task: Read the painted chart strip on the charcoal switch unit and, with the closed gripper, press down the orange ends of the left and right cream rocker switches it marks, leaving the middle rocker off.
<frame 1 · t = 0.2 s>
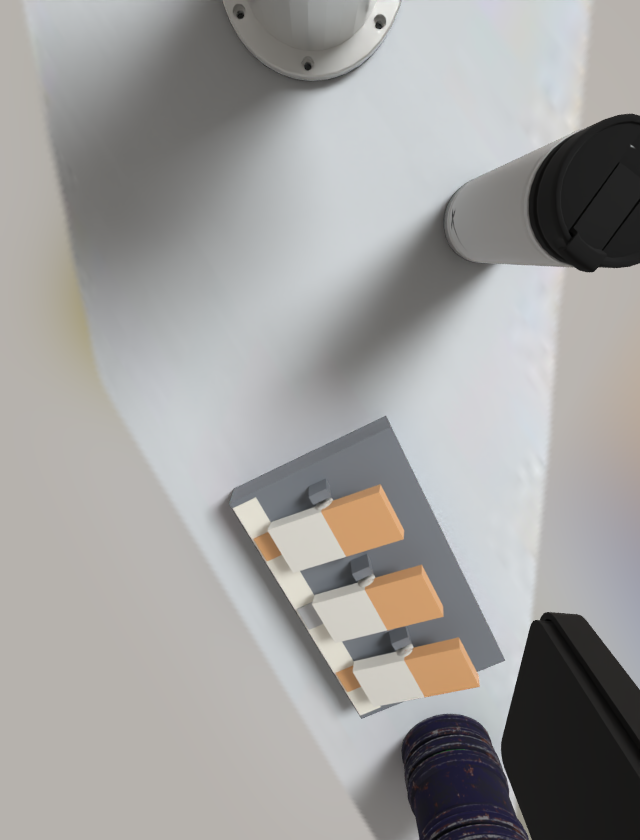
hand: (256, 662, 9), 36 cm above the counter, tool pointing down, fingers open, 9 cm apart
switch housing: (371, 567, 50), on the counter
switch 3: (414, 669, 47), point 5 cm above the counter, hinge at 13.0°
switch 2: (377, 602, 45), point 5 cm above the counter, hinge at 13.0°
switch 1: (335, 527, 43), point 5 cm above the counter, hinge at 13.0°
travel mug: (481, 222, 41), on the counter
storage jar: (445, 747, 57), on the counter
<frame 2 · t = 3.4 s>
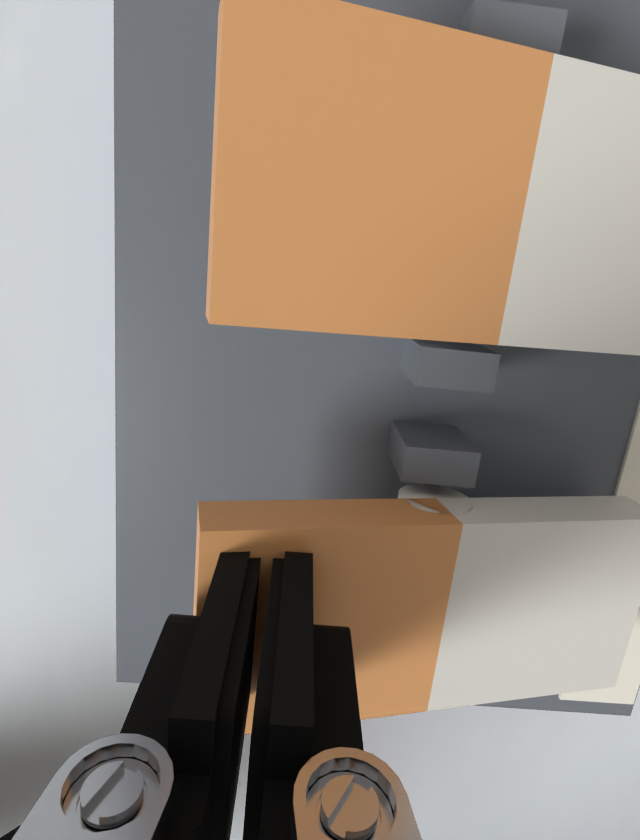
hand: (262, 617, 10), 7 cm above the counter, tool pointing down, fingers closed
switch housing: (427, 232, 15), on the counter
switch 2: (491, 213, 10), point 5 cm above the counter, hinge at 13.0°
switch 1: (423, 594, 12), point 5 cm above the counter, hinge at 13.0°, touching gripper
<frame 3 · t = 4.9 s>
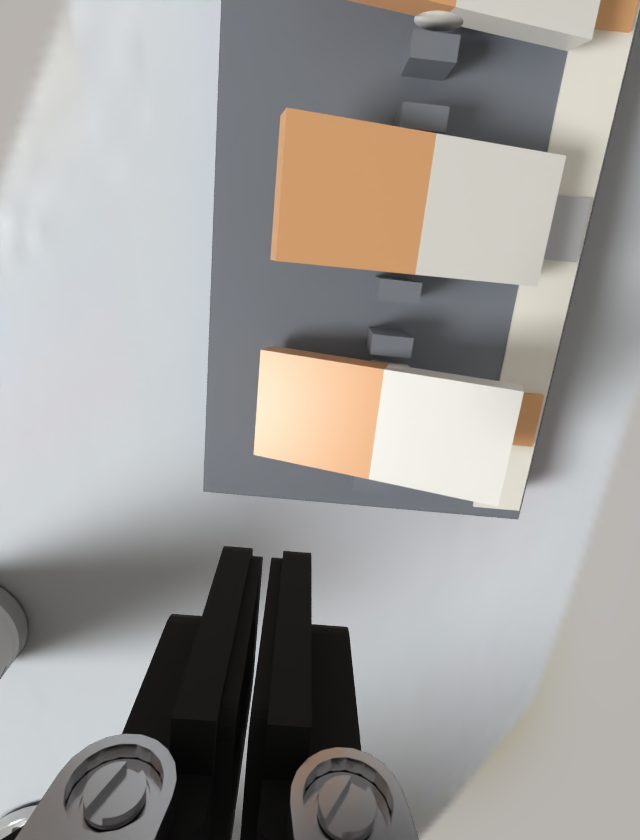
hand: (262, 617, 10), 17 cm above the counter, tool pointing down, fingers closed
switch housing: (392, 216, 24), on the counter
switch 2: (413, 208, 19), point 5 cm above the counter, hinge at 13.0°
switch 1: (380, 419, 21), point 5 cm above the counter, hinge at -17.2°
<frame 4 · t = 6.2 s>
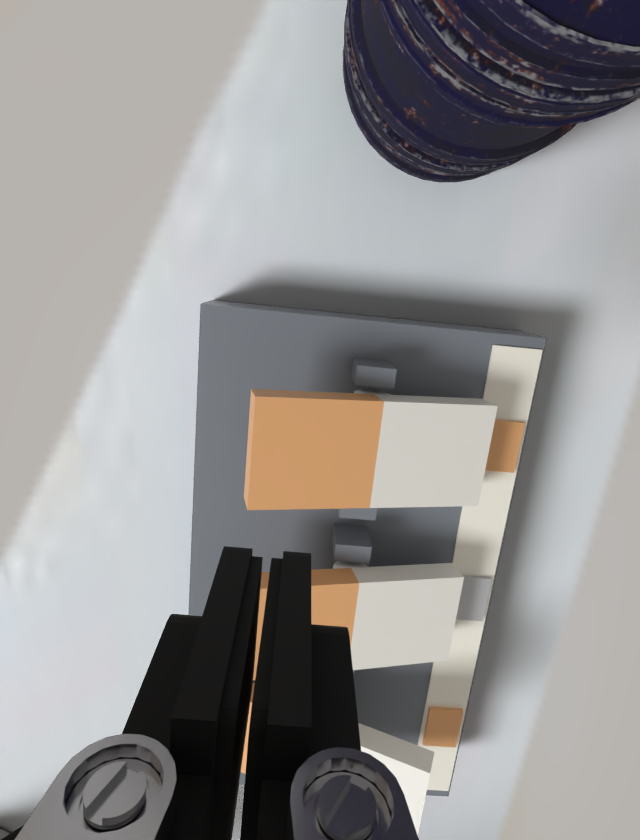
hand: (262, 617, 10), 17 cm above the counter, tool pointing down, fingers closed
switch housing: (339, 554, 29), on the counter
switch 3: (368, 447, 22), point 5 cm above the counter, hinge at 13.0°
switch 2: (346, 613, 24), point 5 cm above the counter, hinge at 13.0°
switch 1: (325, 752, 26), point 5 cm above the counter, hinge at -22.0°
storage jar: (452, 63, 23), on the counter
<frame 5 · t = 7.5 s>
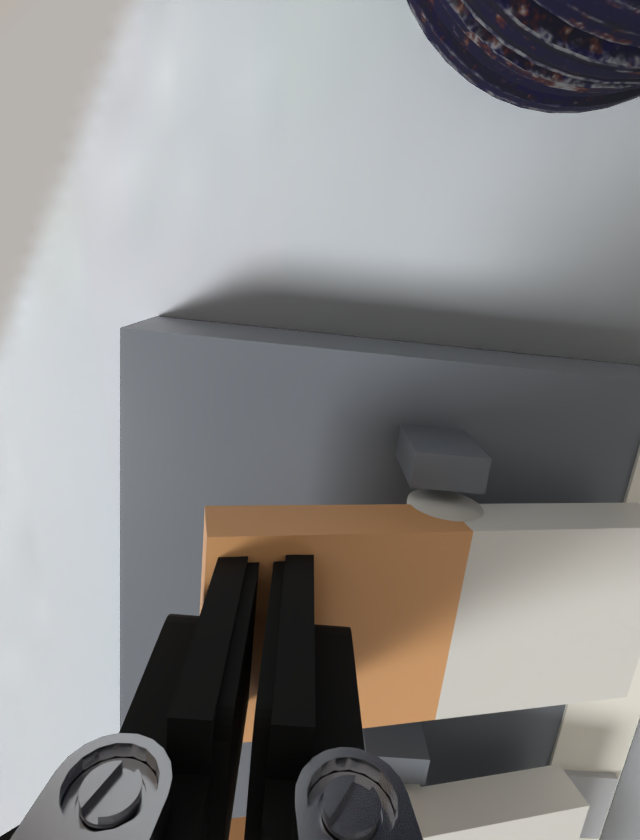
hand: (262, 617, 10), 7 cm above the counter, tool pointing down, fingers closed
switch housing: (362, 706, 19), on the counter
switch 3: (432, 601, 12), point 5 cm above the counter, hinge at 12.2°, touching gripper
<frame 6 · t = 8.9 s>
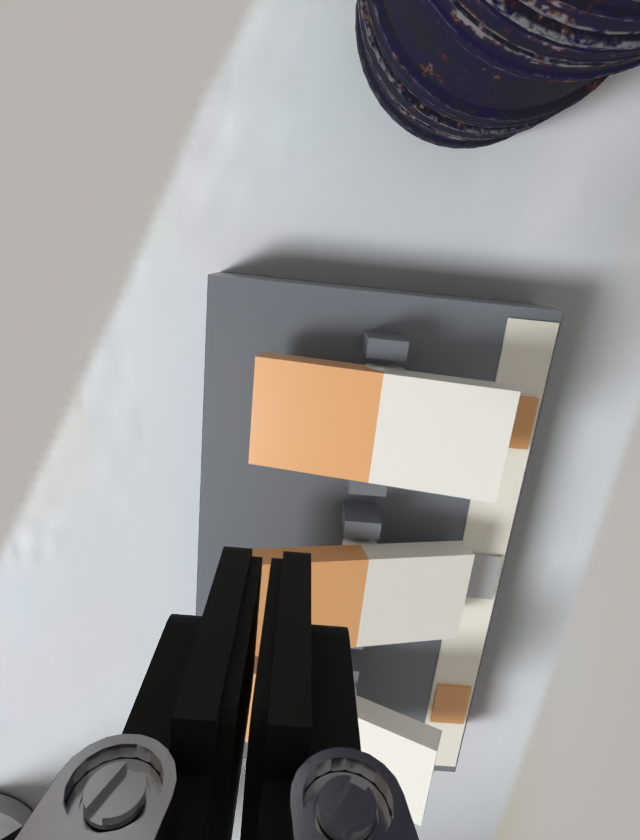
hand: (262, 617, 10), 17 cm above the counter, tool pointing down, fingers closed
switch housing: (347, 532, 29), on the counter
switch 3: (377, 422, 22), point 5 cm above the counter, hinge at -10.2°
switch 2: (355, 590, 24), point 5 cm above the counter, hinge at 13.0°
switch 1: (333, 727, 26), point 5 cm above the counter, hinge at -23.7°, touching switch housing
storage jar: (470, 21, 22), on the counter
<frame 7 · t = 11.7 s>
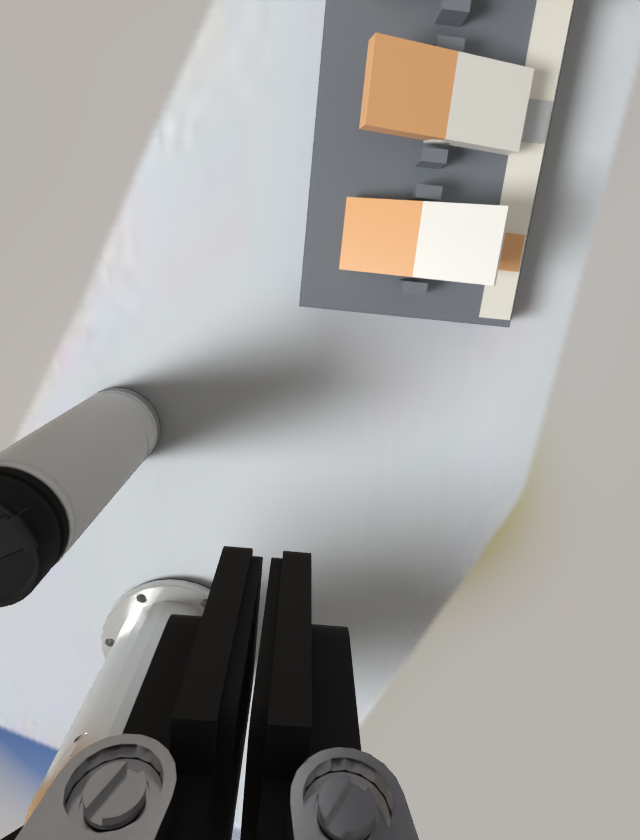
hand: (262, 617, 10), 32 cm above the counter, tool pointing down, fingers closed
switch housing: (425, 122, 37), on the counter
switch 2: (443, 100, 32), point 5 cm above the counter, hinge at 13.0°
switch 1: (421, 241, 34), point 5 cm above the counter, hinge at -23.8°, touching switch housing
travel mug: (124, 423, 43), on the counter
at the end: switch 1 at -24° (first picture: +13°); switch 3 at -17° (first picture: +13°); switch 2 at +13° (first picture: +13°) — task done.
